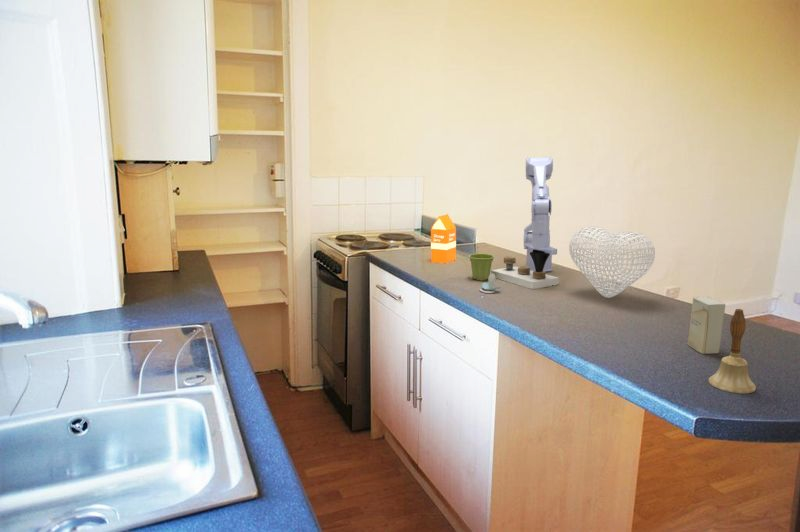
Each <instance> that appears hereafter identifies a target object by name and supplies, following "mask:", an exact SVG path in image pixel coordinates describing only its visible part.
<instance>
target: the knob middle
mask: <svg viewBox="0 0 800 532" xmlns="http://www.w3.org/2000/svg"><path fill="white" fill-rule="evenodd" d="M518 267H519V268H518V274H521V275H527V274H530V268H529V267H526V266H525V265H524V266H518Z"/></svg>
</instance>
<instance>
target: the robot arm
mask: <svg viewBox="0 0 800 532" xmlns="http://www.w3.org/2000/svg"><path fill="white" fill-rule="evenodd" d="M553 171H554V159H553V157H552V156H550V157H547V156H546V157H543V156H542V157H528V156H527V157H526V158H525V177H526V180H529V181H530V183H531V187H532V189H531V206H530V207H531V209H530V210H531V211H530V212H531V223H529V224H528V225H527V226H526V227H524V229H523V250H526V264H525V265H526V267H529V268H530V270H531V271H536V272H543V271H545V272H552V271H553V270H554V269H553V268H552V265H553V264H552V262H553V261H552V258H553V256H556V255H558V248H556V247H553V246H551V245H550V243H551V233H550V232H551V231H550V216H551V215H552V206H553V205H552V199H551V196H550V187H549V186H548V184H546V181H548V180H550V179H551V177H552V174H553ZM553 272H554V271H553Z"/></svg>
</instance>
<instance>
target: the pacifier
mask: <svg viewBox="0 0 800 532" xmlns="http://www.w3.org/2000/svg"><path fill="white" fill-rule="evenodd" d="M487 280H488V282H483V283H482V284H481V287H482V288H479V291H480V292H481V293H483V294H495V293H496V291H497V290H499V289H501V286H496V287H495V281H496V278H495V275H494V274H491V273H490V275H489V277H488V279H487Z"/></svg>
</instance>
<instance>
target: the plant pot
mask: <svg viewBox="0 0 800 532" xmlns="http://www.w3.org/2000/svg"><path fill="white" fill-rule="evenodd" d="M468 258H469V261H470V264H471V273H472V279H473V280H477V281H486V280H488V277H489V275H490V274H491V270H492V263H493V260H494V258H495V256H494V255H493V254H488V253H473V254H472V253H471V254H469V255H468Z"/></svg>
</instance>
